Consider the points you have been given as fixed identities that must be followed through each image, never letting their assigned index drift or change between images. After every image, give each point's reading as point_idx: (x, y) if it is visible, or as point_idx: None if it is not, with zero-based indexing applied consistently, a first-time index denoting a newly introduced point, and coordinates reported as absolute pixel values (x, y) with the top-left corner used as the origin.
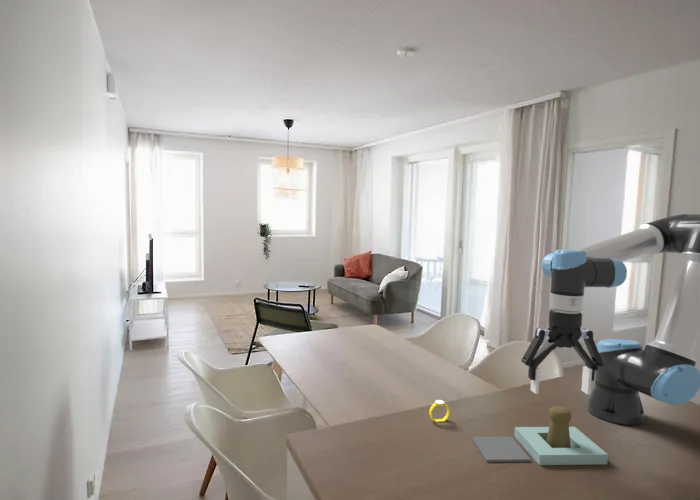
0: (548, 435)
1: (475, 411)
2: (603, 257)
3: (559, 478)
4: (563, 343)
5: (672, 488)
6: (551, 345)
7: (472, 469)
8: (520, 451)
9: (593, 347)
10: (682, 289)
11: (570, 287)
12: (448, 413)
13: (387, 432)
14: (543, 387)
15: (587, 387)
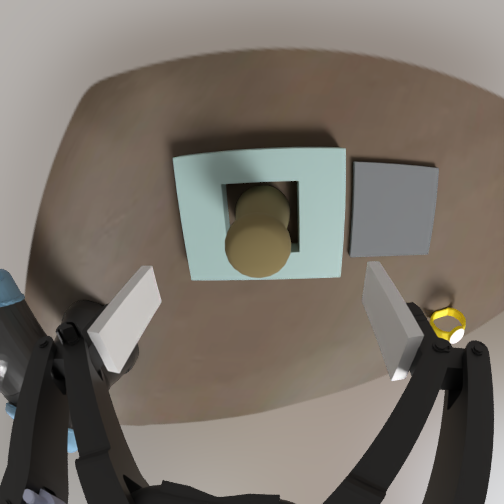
0: (287, 225)
1: (360, 352)
2: None
3: (318, 97)
4: None
5: (108, 92)
6: (379, 502)
7: (462, 148)
8: (362, 194)
9: (25, 425)
10: None
11: None
12: (433, 324)
13: None
14: (188, 412)
15: (141, 283)
